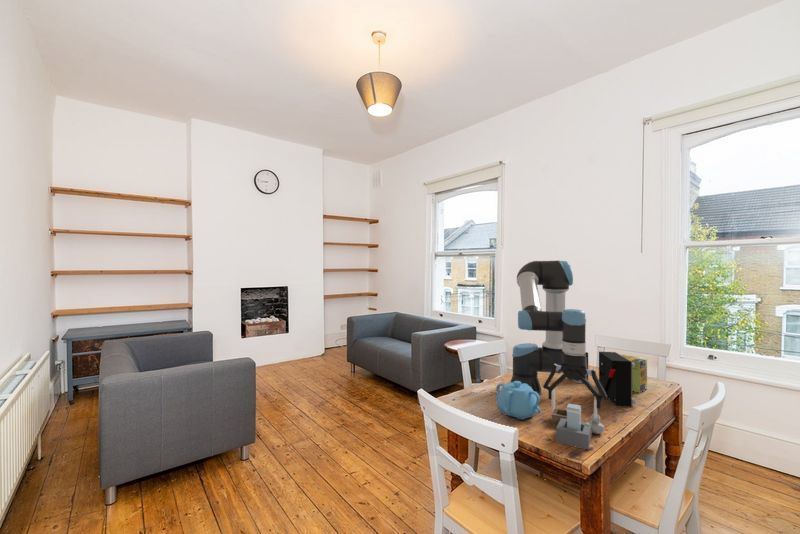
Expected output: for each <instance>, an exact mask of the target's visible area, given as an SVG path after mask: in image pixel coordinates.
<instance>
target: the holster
mask: <svg viewBox="0 0 800 534" xmlns="http://www.w3.org/2000/svg"><path fill="white" fill-rule="evenodd" d="M552 411H553V412H552V413H551V426H552V425H553V426H556V427H557V425H558V423H559V421H560V419H561V418H565V419H567V409H565V408H559V407H555V409H554V410H552Z"/></svg>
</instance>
